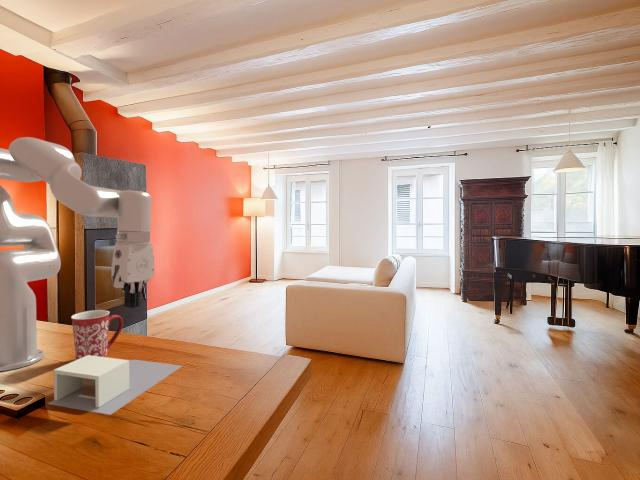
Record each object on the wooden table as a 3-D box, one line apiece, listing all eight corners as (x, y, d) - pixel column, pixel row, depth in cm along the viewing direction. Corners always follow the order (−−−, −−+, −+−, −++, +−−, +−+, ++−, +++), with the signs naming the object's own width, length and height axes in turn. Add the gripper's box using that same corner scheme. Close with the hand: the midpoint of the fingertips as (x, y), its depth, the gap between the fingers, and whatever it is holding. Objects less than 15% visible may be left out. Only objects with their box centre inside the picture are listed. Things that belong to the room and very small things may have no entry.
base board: (47, 409, 67) (47, 394, 67) (132, 363, 90) (132, 352, 90) (110, 420, 64) (110, 405, 64) (182, 370, 86) (182, 358, 86)
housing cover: (54, 400, 68) (53, 369, 68) (88, 382, 76) (88, 355, 76) (98, 407, 66) (98, 376, 66) (129, 388, 74) (129, 360, 74)
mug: (77, 370, 85) (76, 320, 84) (67, 360, 91) (67, 314, 90) (128, 355, 95) (128, 311, 94) (117, 348, 100) (117, 306, 100)
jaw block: (97, 397, 70) (97, 375, 70) (82, 394, 71) (82, 372, 71) (112, 388, 74) (112, 367, 74) (98, 386, 75) (98, 365, 74)
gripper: (122, 240, 75) (120, 315, 76) (165, 238, 90) (163, 301, 91) (96, 237, 77) (94, 312, 78) (143, 236, 91) (141, 298, 92)
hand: (131, 306), depth 84 cm, fingers closed
